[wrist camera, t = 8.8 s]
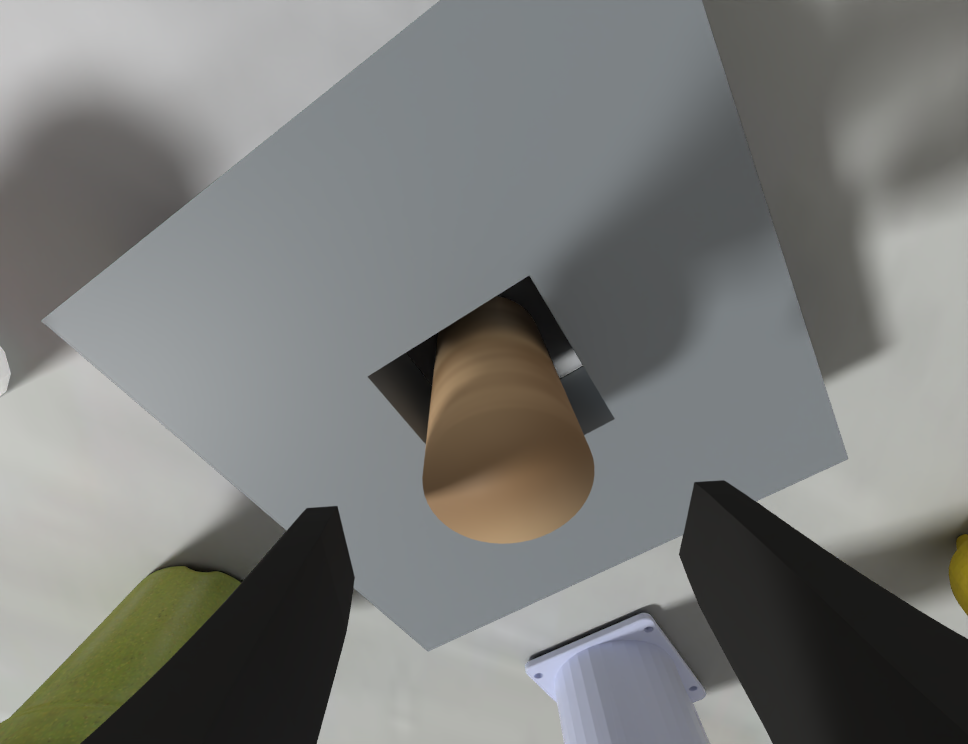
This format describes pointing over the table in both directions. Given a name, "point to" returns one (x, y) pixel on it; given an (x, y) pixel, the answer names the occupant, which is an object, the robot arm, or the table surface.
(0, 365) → the beverage cup
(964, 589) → the lemon
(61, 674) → the plant pot
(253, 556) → the table surface
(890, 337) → the table surface
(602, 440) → the socket block
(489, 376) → the peg
